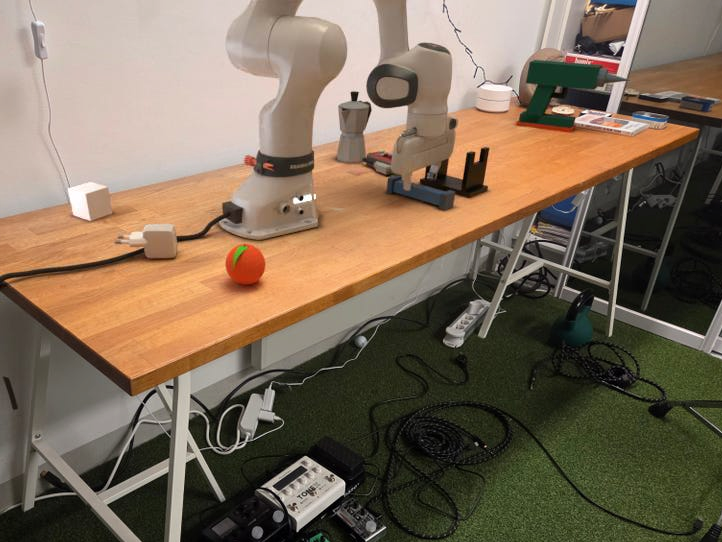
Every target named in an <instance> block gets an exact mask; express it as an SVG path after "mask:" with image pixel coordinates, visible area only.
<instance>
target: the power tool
mask: <svg viewBox="0 0 722 542" xmlns="http://www.w3.org/2000/svg"><path fill="white" fill-rule="evenodd" d="M603 67H604V66H603V64H592V63H579V62H566V61H556V60H555V61H554V60H545V59H544V60H541V59H534V60H530V62H529V64H528V69H527V73H526V74H527V75H526V79H525V84H529V85H536V87H535V89H534V92H533V94H532V96H531V98H530V99H529V100H530V101H529V103H528V105H527V106H526V109H525V110H524V111H522V112H521V113H519V117H518V120H517V121H516V123H515V126H519V127H527V128H528V127H529V128H537V129H544V130H551V131H558V132H566V133H572V132H573V131H574V130H575V129H576V126H577V125H576V124H575V122H576V119H577V117H576V116H572V115H571V116H570V115H563V114H555V113H554V114H553V113H547V110H548V108H549V105H550V103H551V101H552V99H557V100H558V99H559V100H560V99H561V100H564V99H566V98H567V96H568V93H569V89H570V88H571V89H579V90H592V91H594V90H595V89H597V88H604V87H605V85H606V84H614V83H620V82H621V83H623V82H630V81H632V80H631V79H628V78H626V77H625V78H624V77H622V76H619V75H617V74H612V73H609V68H603ZM558 87H559V88H562V89H561V92H556V90H557V88H558Z"/></svg>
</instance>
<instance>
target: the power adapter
mask: <svg viewBox="0 0 722 542" xmlns="http://www.w3.org/2000/svg"><path fill="white" fill-rule="evenodd" d="M176 236H177V230H176V226H175V224H173V223H147V224H145V225H144V227H143V229H142V231H141V230H140V231H139V230H138V231H132V232H131V234H118V235H117V236H116V238H117V239H116V240H114V244H115V245H129V248H144V250H145V253H144V254H145V255H144V256H145V257H146V258H148V259H174V258H176V257H177V253H178V241H177V237H176Z"/></svg>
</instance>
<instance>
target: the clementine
mask: <svg viewBox="0 0 722 542" xmlns="http://www.w3.org/2000/svg"><path fill="white" fill-rule="evenodd" d="M265 270H266V260H265V256H264V254H263V253H262V251H261V250H260V249H259V248H258V247H256V246H255V245H252V244H249V243H241V244H237V245H236V246H234V247H233V248H232V249H231V250H230V251H229V252H228V254H227V256H226V258H225V271H226V273H227V274H228V276H229V277H230V279H232V280H233V281H234V282H236V283H238V284H241V285H251V284H254V283H256V282H257V281H259V280H260V279H261V278H262V277H263V275H264V273H265V272H266V271H265Z"/></svg>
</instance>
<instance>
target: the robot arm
mask: <svg viewBox="0 0 722 542" xmlns="http://www.w3.org/2000/svg"><path fill="white" fill-rule="evenodd" d="M372 1H373V4H374V6H375V9H376V14H377V23H378V34H379V46H380V47H379V49H380V53H379V59H378V63H377V64H376V65H375V66H374V67H373V69H372V70H371V71H370V72H369V74H368V76H367V79H366V85H365V86H366V88H365V89H366V93H367V97H368V98H369V100H370V101H371V102H372V103H373V105H375V106H376V107H378V108H381V109H395V108H402V107H407V112H406V114H407V115H406V124H405V130H402V131H401V132H400V134H399V136H398V137H397V138H396V140H395V143H394V144H393V148H392V149H393V150H392V152H393V154H392V161H391V170H392V172H393V173H396V174H399V175H401V177H402V180H403V182H404V186H403V188H404V190H407V191H409V190H411V189H413V185H414V183H415V182H414V181H412V178H411V177H412V176H413V173H414V172H416V171H419V170H422V169H424V168H426V167H427V166H430V165H431V168H430V171H429V172H428V173H427V180H428V181H434V180H436V177H437V172H438V170H439V168H440V166H441V161H443V160H446V159H448V158H449V159H450V158H451V157H452V154H453V152H454V149H455V141H456V129H457V128H458V125H459V118H457V117H453V116H450V115H448V112H449V107H448V98H449V95H450V94H451V88H452V76H453V57H452V54H451V52H450V50H449V49H448V48H447V47H445V46H443V45H440V44H437V43H433V42H419V43H417V44H416V45H415V46H414V47H413V48H410V47H409V32H408V31H409V30H408V14H407V13H408V12H407V2H408V1H407V0H372ZM302 2H304V0H250V2H249V3H248V5H247V6H246V7H245V9H244V10H243V11H242V12H241V14H240V15H238V16H237V17H236V18H235V19H233V21H231V23H230V25H229V27H228V29H227V31H226V36H225V50H226V55H227V57H228V59H229V61H230V63H231V64H232V66H233V67H235V68H236V69H237V70H240V71H242V72H244V73H246V74H249V75H252V76H256V77H263V78H270V79H278V80H279V85H278V91H277V94H276V96H275V98H273V99H271V100H270V101H268V102H267V103H265V104H264V105H263V107H261V109H260V111H259V113H258V139H259V140H258V141H259V142H258V143H259V145H258V146H259V149H258V151H257V154H256V156H252V155H250V154H246V155H245V156H244V157H243V164H244V165H245V166H249V167H253V168H252V169H253V171H252V172H251V173H250V174H249V176H248V177H246V178H245V180H244V181H243V183H241V184H240V185H239V187H238V188H236V190H235V191H234V192H233V193H232V195H231V197H230V200H229V201H224V202H221V204H222V214H221V215H219V216H217V217H215V218H213V219H212V220H211V221H209V223H208V224H206V226H205V227H204V229H202V230H201V231H198V232H196V233H193V234H188V235H185V234H184V235H176V237H177V242H178V241H190V240H195V239H196V240H197V239H199V238H202V237H204V236H205V235H207V234H208V233H209V231H210V230H211V229H212V228H213V227H214V226H215V225H217V224H218V223H219V224H218V225H219V226H220V227H221V229H223V230H225V231H227V232H229V233H231V234H233V235H235V236H238V237H241V238H245V239H249V240H257V241H261V240H267V239H270V238H274V237H278V236H285V235H288V234H292V233H296V232H301V231H305V230H309V229H314V228H317V227H318V226H319V219H318V218H319V215H320V214H319V211H318V208H317V203H316V194H315V186H314V179H313V177H314V175H313V170H314V169H315V151H314V150H313V136H314V135H313V134H314V133H313V132H314V131H313V130H314V120H315V119H314V118H315V111H316V108H317V105H318V102H319V99H320V98H321V96H322V94H323V92H324V90H325V89H326V87H327V86H328V85H330V83H331V82H332V81H333V80H334V81H335V79H337V78H338V76H339V75H340V74H341V72H342V71H343V69H344V67H345V64H346V63H347V58H348V41H347V37H346V35H345V33H344V31H343V29H342V28H341V26H340V25H339V24H337V23H335V22H331V21H330V20H327V19H323V18H320V17H316V16H303V15H302V16H301V15H296V14H297V12H298V10H299V8H300V6H301V4H302ZM142 254H145V250H144V247H140V248H138V249H136V250H134V251H130V252H128V253H124V254H121V255H117V256H114V257H110V258H106V259H102V260H101V259H100V260H97V261H91V262H85V263H79V264H72V265H71V264H70V265H64V266H54V267H52V266H51V267H43V268H36V269H31V270H24V271H14V272H8V273H4V274H2V275H0V284H2V283H3V282H4V281H7V280H10V279H17V278H26V277H31V276H37V275H42V274H53V273H64V272H71V271H78V270H79V271H80V270H84V269H90V268H96V267H102V266H106V265H110V264H115V263H119V262H122V261H125V260H129V259H131V258H134V257H137V256H140V255H142ZM2 379H3V382H4V385H5V388H6V391H7V394H8V397H9V400H10V404H11V408H12V410H13V411H16V410H18V409H19V406H18V402H17V399H16V395H15V392H14V389H13V386H12V382H11V380H10V379H11V378H10V377H7V376H2Z"/></svg>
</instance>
